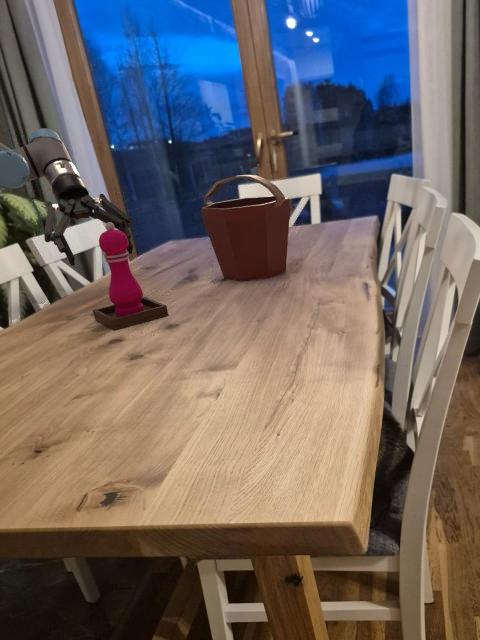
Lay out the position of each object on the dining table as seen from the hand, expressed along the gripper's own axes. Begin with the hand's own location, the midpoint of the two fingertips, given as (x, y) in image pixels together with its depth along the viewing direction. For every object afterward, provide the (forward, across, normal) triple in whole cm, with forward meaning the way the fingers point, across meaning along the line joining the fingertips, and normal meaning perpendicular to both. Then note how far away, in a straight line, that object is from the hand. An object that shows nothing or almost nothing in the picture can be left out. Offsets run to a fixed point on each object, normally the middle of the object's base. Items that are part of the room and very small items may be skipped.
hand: (102, 255), depth 132 cm
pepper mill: (+16, 0, +2) cm, 16 cm away
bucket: (+8, +40, +10) cm, 43 cm away
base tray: (+16, 0, +2) cm, 16 cm away
